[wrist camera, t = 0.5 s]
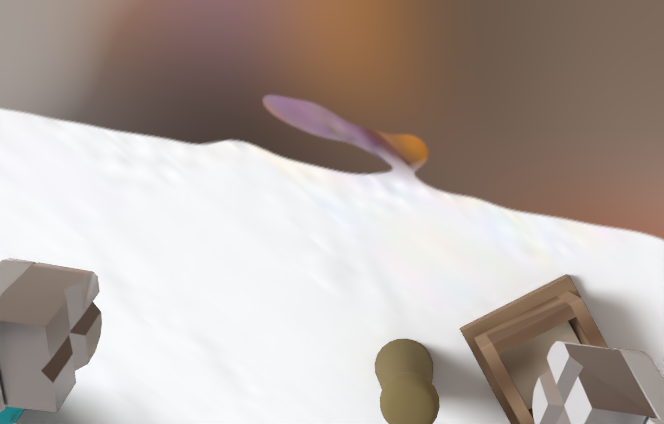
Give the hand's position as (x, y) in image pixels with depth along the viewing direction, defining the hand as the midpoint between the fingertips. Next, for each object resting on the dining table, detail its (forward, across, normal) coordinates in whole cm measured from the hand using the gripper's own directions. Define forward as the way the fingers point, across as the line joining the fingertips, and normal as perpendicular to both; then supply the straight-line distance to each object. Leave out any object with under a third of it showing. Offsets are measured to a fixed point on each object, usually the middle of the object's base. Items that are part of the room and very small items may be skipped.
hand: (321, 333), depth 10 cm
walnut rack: (+37, +26, -35) cm, 57 cm away
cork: (+38, +10, -35) cm, 52 cm away
